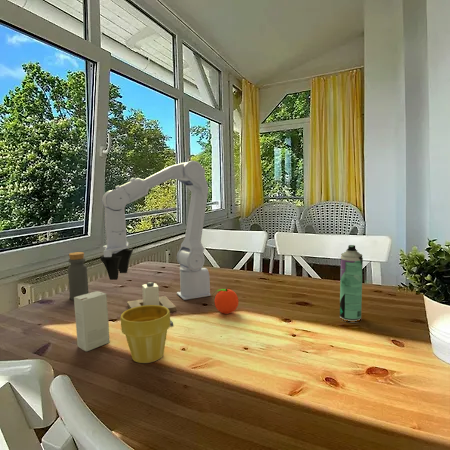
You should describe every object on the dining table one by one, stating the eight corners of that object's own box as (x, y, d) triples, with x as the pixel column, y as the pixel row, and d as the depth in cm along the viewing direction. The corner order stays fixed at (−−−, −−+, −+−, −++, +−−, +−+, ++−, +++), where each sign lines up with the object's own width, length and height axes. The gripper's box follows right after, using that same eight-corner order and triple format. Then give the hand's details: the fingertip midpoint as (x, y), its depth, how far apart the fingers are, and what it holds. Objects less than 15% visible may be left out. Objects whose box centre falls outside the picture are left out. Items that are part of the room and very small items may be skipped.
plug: (156, 305, 110) (155, 280, 109) (159, 309, 106) (158, 283, 105) (143, 307, 108) (142, 282, 107) (146, 311, 104) (144, 285, 103)
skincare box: (100, 338, 86) (97, 289, 85) (110, 343, 83) (108, 293, 82) (76, 347, 81) (72, 296, 80) (86, 353, 79) (82, 300, 77)
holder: (165, 299, 115) (165, 295, 115) (176, 310, 104) (176, 306, 104) (127, 305, 110) (127, 301, 110) (135, 318, 99) (134, 313, 99)
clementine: (207, 315, 100) (206, 290, 99) (216, 307, 107) (215, 284, 106) (234, 318, 97) (233, 293, 97) (241, 310, 104) (241, 286, 103)
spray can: (360, 316, 97) (362, 244, 95) (361, 323, 92) (363, 247, 90) (339, 314, 99) (341, 243, 97) (339, 321, 94) (340, 246, 92)
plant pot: (112, 363, 74) (109, 318, 73) (140, 342, 83) (138, 302, 82) (155, 372, 70) (153, 324, 69) (180, 349, 80) (178, 307, 78)
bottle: (82, 300, 115) (79, 255, 114) (66, 299, 117) (62, 254, 115) (92, 295, 121) (89, 251, 119) (76, 294, 122) (74, 251, 121)
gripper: (112, 228, 112) (115, 270, 113) (91, 234, 98) (95, 282, 99) (134, 227, 111) (136, 270, 113) (116, 234, 97) (119, 282, 98)
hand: (118, 276), depth 106 cm, fingers open, 7 cm apart
